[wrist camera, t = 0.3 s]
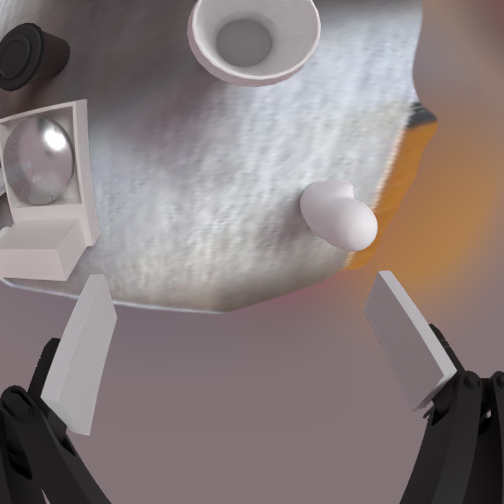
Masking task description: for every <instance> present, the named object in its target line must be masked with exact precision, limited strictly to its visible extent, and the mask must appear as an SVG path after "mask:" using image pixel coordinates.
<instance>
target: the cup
mask: <svg viewBox="0 0 504 504" xmlns="http://www.w3.org/2000/svg"><path fill="white" fill-rule="evenodd" d="M320 28H321V24H320V19H319V14H318V11H317V9H316V7H315V5H314V3H313V1H312V0H198V1H197V2H196V3H195V5H194V7H193V9H192V11H191V14H190V16H189V18H188V28H187V35H188V40H189V45H190V48H191V50H192V52H193V54H194V55H195V57H196V59H197V61H198V62H199V63H200V64H201V65H202V66H203V67H204V68H205V69H206V70H207V71H208V72H209V73H210V74H212V75H214V76H215V77H217V78H219V79H220V80H222V81H225V82H228V83H231V84H235V85H238V86H250V87H260V86H267V85H274V84H276V83H279V82H281V81H284V80H286V79H289V78H290V77H291V76H293V75H294V74H296V73H297V72H298V71H300V70H301V69H302V68H303V67H304V65H305V64H306V63H307V62H308V61H309V59H310V58H311V56H312V55H313V53H314V51H315V49H316V46H317V44H318V41H319V38H320Z"/></svg>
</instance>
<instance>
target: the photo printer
mask: <svg viewBox="0 0 504 504" xmlns="http://www.w3.org/2000/svg"><path fill="white" fill-rule="evenodd" d="M5 192H6V188H5V183H4V177H3V172H2V168H0V196H1V195H2V194H4V193H5Z"/></svg>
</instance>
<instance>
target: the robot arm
mask: <svg viewBox="0 0 504 504" xmlns="http://www.w3.org/2000/svg"><path fill="white" fill-rule="evenodd" d="M363 312H364V314H365V316H366V318H367V320H368V322H369V323H370V325H371V327H372V329H373V331H374V333H375V335H376V337H377V339H378V341H379V343H380V345H381V347H382V349H383V351H384V353H385V355H386V357H387V359H388V361H389V363H390V365H391V367H392V369H393V371H394V373H395V375H396V377H397V379H398V382H399V384H400V386H401V388H402V390H403V392H404V394H405V396H406V399H407V401H408V403H409V405H410V407H411V410H412V411H416V410H419V409H422V408H424V407H426V406H427V404H429V402H430V401H431V400H432V401H433V403H434V405H433V406H432V407H431V408H430V409H429V410H428V411H427V412H426V413H425V414H424V416H423V418H426V417H427V416H428V415H429V414H430V415H429V418H428V423H427V427H426V431H425V434H424V437H423V441H422V444H421V447H420V451H419V454H418V457H417V460H416V463H415V466H414V468H413V471H412V474H411V477H410V479H409V482H408V484H407V487H406V490H405V492H404V495H403V497H402V499H401V501H400V504H504V373H503V372H501V371H497V372H495V373H494V374H493V375H492V376H491V377H490V378H479V377H478V375H477V374H476V373H474V372H472V371H465V370H464V368H463V366H462V365H461V363H460V362H459V360H458V358H457V357H456V355H455V353H454V352H453V350H452V349H451V347H449V344H448V342H447V341H445V338H444V336H443V335H442V333H441V332H440V331H439V330H438V329H437V328H436V327H435V326H434V325H433V324H427V322H426V321H425V319H424V318H423V316H422V315H421V313H420V312H419V310H418V309H417V307H416V306H415V304H414V303H413V302H412V300H411V299H410V297H409V296H408V295H407V293H406V292H405V290H404V289H403V288H402V286H401V285H400V283H399V282H398V281H397V279H396V278H395V277H394V275H393V274H392V273H391V271H378V273H377V276H376V279H375V281H374V284H373V287H372V290H371V292H370V295H369V297H368V300H367V303H366V305H365V308H364V310H363ZM116 320H117V316H116V312H115V309H114V305H113V302H112V299H111V295H110V292H109V288H108V285H107V281H106V277H105V275H98V274H90V276H89V278H88V280H87V282H86V284H85V286H84V288H83V290H82V293H81V295H80V297H79V299H78V301H77V304H76V306H75V308H74V310H73V312H72V314H71V317H70V319H69V322H68V324H67V326H66V328H65V331H64V333H63V336H62V338H61V339H58V338H52V339H51V340H50V341H49V342H48V343H47V344H46V345H45V347H44V349H43V352H42V354H41V359H39V361H38V364H37V367H36V369H35V372H34V375H33V377H32V380H31V383H30V386H29V389H28V392H26V391H25V389H23V388H22V387H20V386H16V385H14V386H11V387H8V388H7V389H6V390H4V392H3V393H2V395H1V398H0V408H1V409H0V504H46V502H45V499H44V496H43V492H42V490H43V491H44V493H45V495H46V497H47V499H48V500H49V502H50V504H111V503H110V501H109V500H108V499H107V498H106V496H105V495H104V493H103V492H102V490H101V489H100V488H99V486H98V485H97V483H96V482H95V480H94V479H93V477H92V476H91V474H90V473H89V471H88V470H87V468H86V467H85V465H84V463H83V462H82V460H81V459H80V457H79V455H78V453H77V452H76V450H75V448H74V446H73V445H72V443H71V441H70V439H69V438H68V436H67V435H66V428H67V427H68V428H69V429H70V430H71V431H72V432H74V433H79V434H85V435H90V430H91V424H92V419H93V413H94V408H95V404H96V398H97V394H98V390H99V385H100V381H101V376H102V372H103V368H104V364H105V360H106V356H107V352H108V349H109V345H110V341H111V338H112V334H113V330H114V327H115V324H116ZM490 410H491V416H490V417H489V418H488V417H487V413H488V412H489V411H490ZM41 488H42V489H41Z"/></svg>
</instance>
